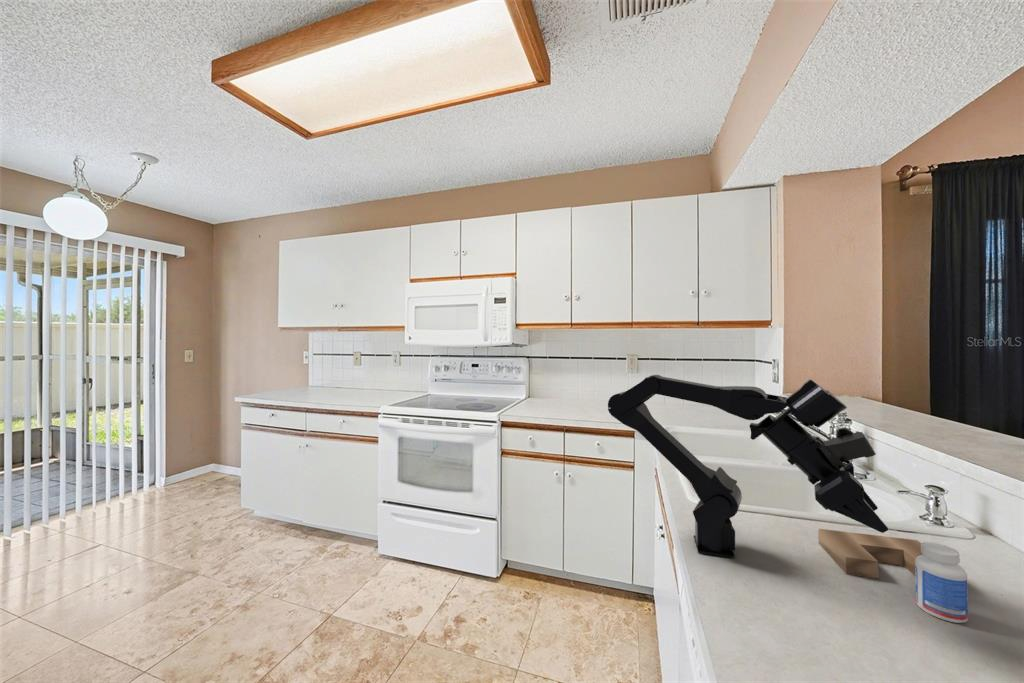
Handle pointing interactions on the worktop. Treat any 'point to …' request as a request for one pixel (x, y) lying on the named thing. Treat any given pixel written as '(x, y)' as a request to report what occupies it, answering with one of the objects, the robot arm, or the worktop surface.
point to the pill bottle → (941, 583)
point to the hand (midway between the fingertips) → (880, 519)
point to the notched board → (868, 551)
